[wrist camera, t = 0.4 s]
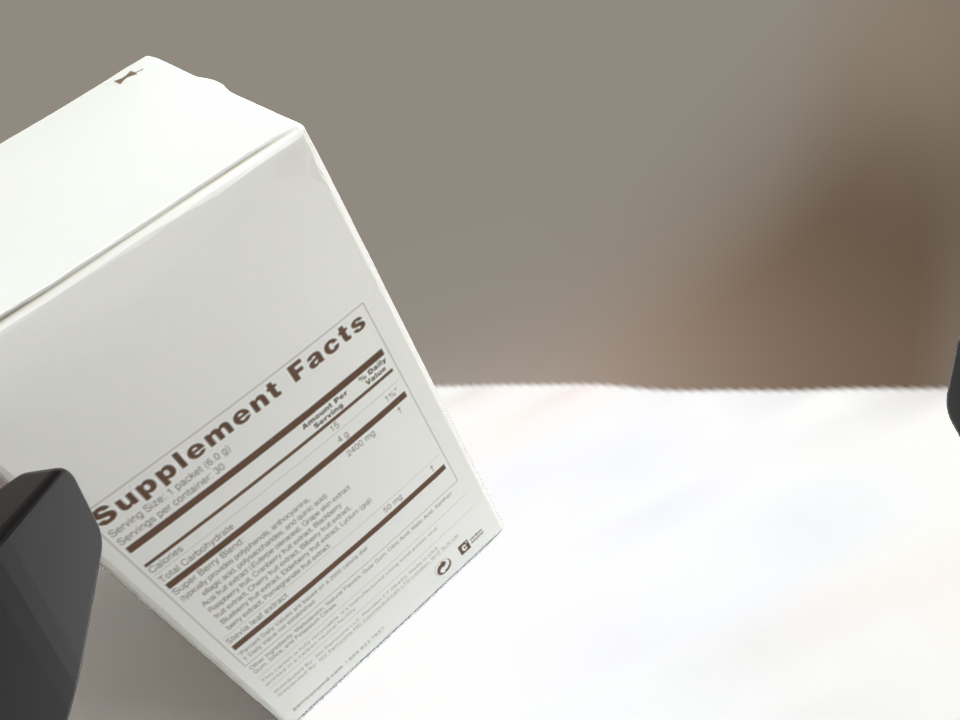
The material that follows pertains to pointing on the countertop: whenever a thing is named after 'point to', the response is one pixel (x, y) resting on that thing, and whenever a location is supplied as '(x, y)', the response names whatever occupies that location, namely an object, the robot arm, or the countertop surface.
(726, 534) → the countertop surface
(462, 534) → the supplement box
